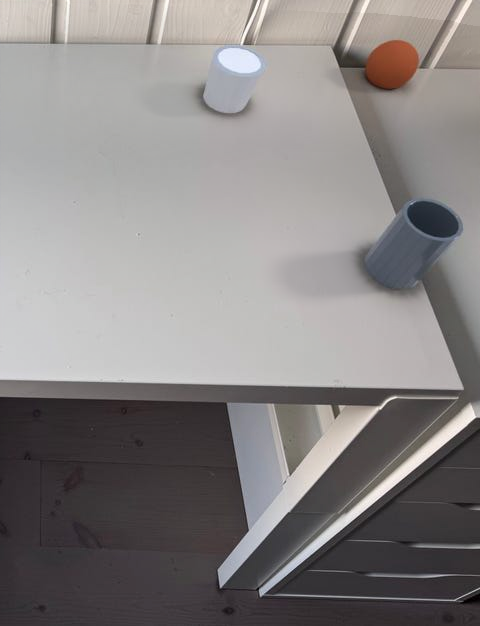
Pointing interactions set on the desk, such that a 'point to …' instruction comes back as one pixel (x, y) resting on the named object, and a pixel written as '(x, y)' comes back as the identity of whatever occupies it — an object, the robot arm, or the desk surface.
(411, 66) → the ball
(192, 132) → the desk surface
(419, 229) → the cup
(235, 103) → the white cylinder
